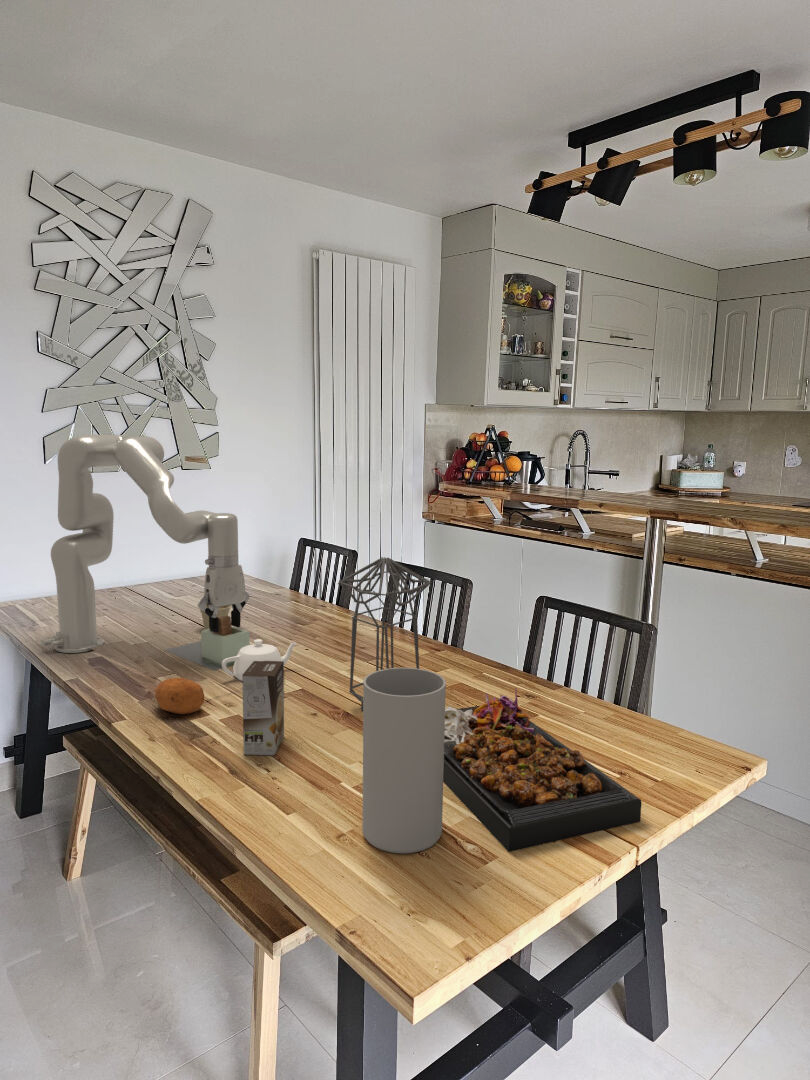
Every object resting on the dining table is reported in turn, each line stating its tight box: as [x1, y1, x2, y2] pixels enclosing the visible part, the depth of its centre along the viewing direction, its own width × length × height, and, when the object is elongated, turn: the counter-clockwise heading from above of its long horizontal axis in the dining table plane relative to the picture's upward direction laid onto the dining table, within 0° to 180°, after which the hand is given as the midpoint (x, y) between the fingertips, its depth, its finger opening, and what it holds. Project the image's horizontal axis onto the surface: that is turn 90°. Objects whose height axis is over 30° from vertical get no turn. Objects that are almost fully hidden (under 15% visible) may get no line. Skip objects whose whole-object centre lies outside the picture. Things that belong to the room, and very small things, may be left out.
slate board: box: [163, 640, 233, 672], centre depth 200 cm, size 14×24×1 cm, turn 49°
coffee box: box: [242, 661, 285, 756], centre depth 146 cm, size 9×6×16 cm
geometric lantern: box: [337, 556, 431, 711], centre depth 163 cm, size 16×16×35 cm
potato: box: [154, 677, 205, 715], centre depth 163 cm, size 9×11×8 cm
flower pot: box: [198, 604, 232, 630], centre depth 221 cm, size 9×9×9 cm
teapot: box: [222, 638, 297, 682], centre depth 183 cm, size 20×12×10 cm, turn 125°
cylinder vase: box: [361, 667, 447, 855], centre depth 114 cm, size 12×12×25 cm
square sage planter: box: [200, 625, 251, 668], centre depth 194 cm, size 8×9×8 cm
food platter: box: [443, 686, 642, 853], centre depth 136 cm, size 45×25×10 cm, turn 22°
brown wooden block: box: [214, 615, 232, 636], centre depth 195 cm, size 3×4×10 cm
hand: (225, 628), depth 194 cm, fingers open, 6 cm apart
